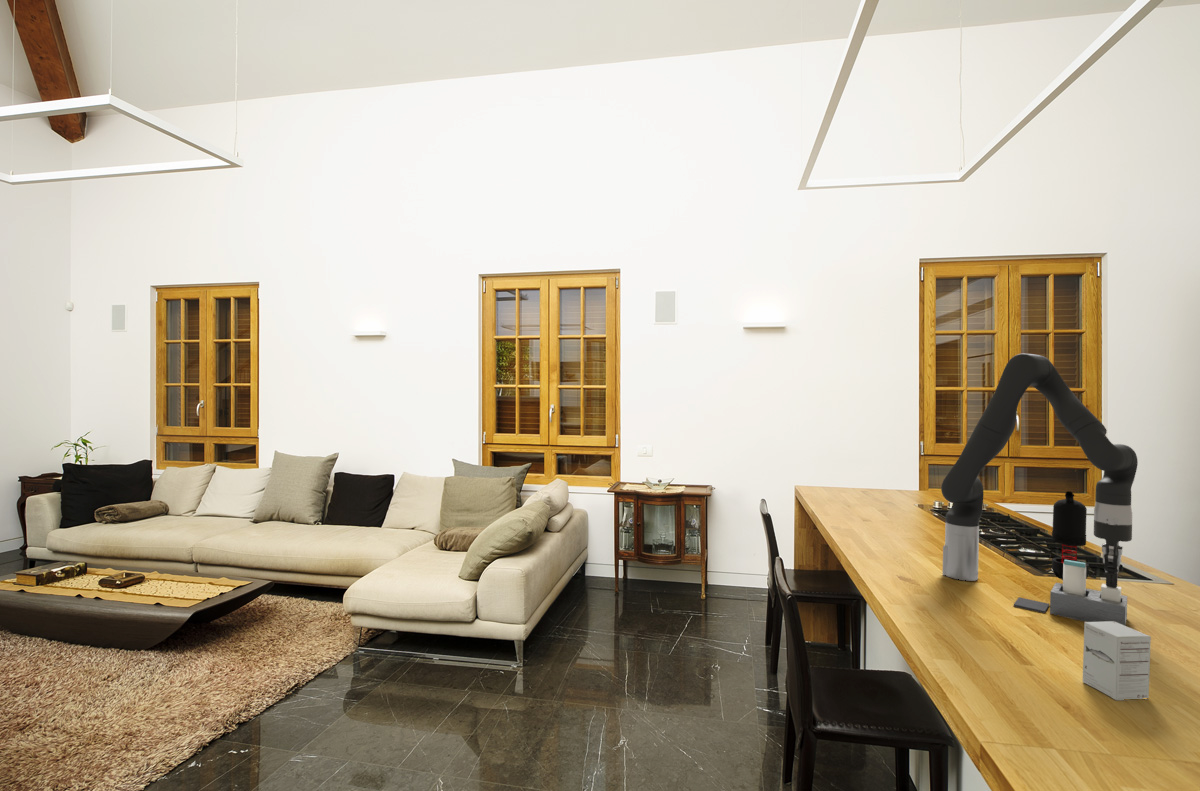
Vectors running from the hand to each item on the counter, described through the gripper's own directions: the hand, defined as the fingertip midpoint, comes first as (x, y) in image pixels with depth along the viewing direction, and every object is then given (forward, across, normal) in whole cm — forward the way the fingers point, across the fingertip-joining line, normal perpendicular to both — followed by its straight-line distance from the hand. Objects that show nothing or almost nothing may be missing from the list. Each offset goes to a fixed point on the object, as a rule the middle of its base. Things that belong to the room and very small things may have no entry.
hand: (1111, 586), depth 152 cm
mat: (+9, +2, -17) cm, 19 cm away
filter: (+9, -30, -11) cm, 33 cm away
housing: (+9, 0, -5) cm, 10 cm away
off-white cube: (+5, 0, 0) cm, 5 cm away
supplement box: (+10, +48, +3) cm, 49 cm away
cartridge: (+9, 0, -8) cm, 12 cm away
